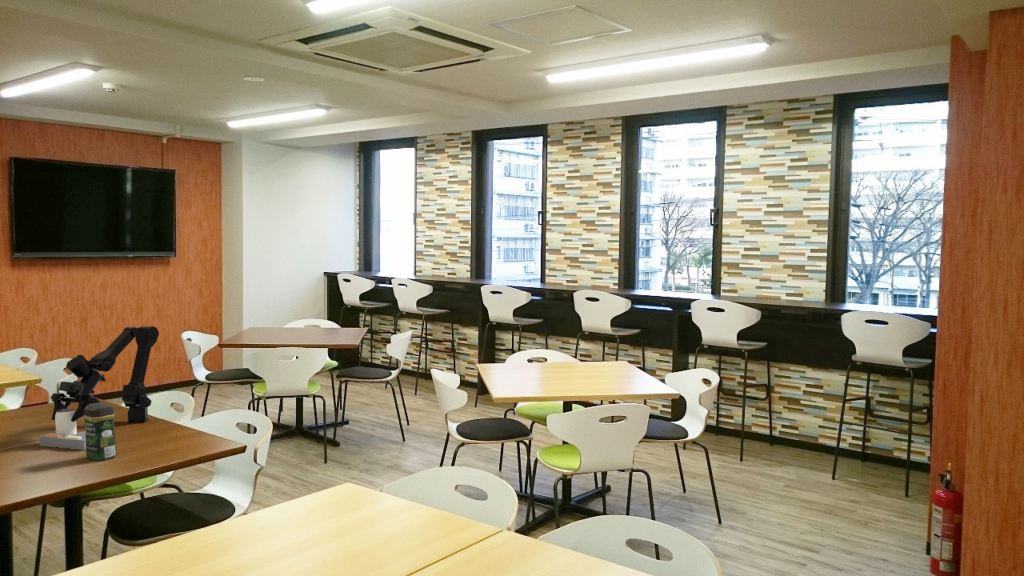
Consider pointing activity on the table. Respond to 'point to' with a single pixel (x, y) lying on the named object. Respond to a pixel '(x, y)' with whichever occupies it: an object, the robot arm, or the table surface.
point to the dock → (64, 441)
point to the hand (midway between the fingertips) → (62, 420)
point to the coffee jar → (99, 431)
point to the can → (65, 422)
